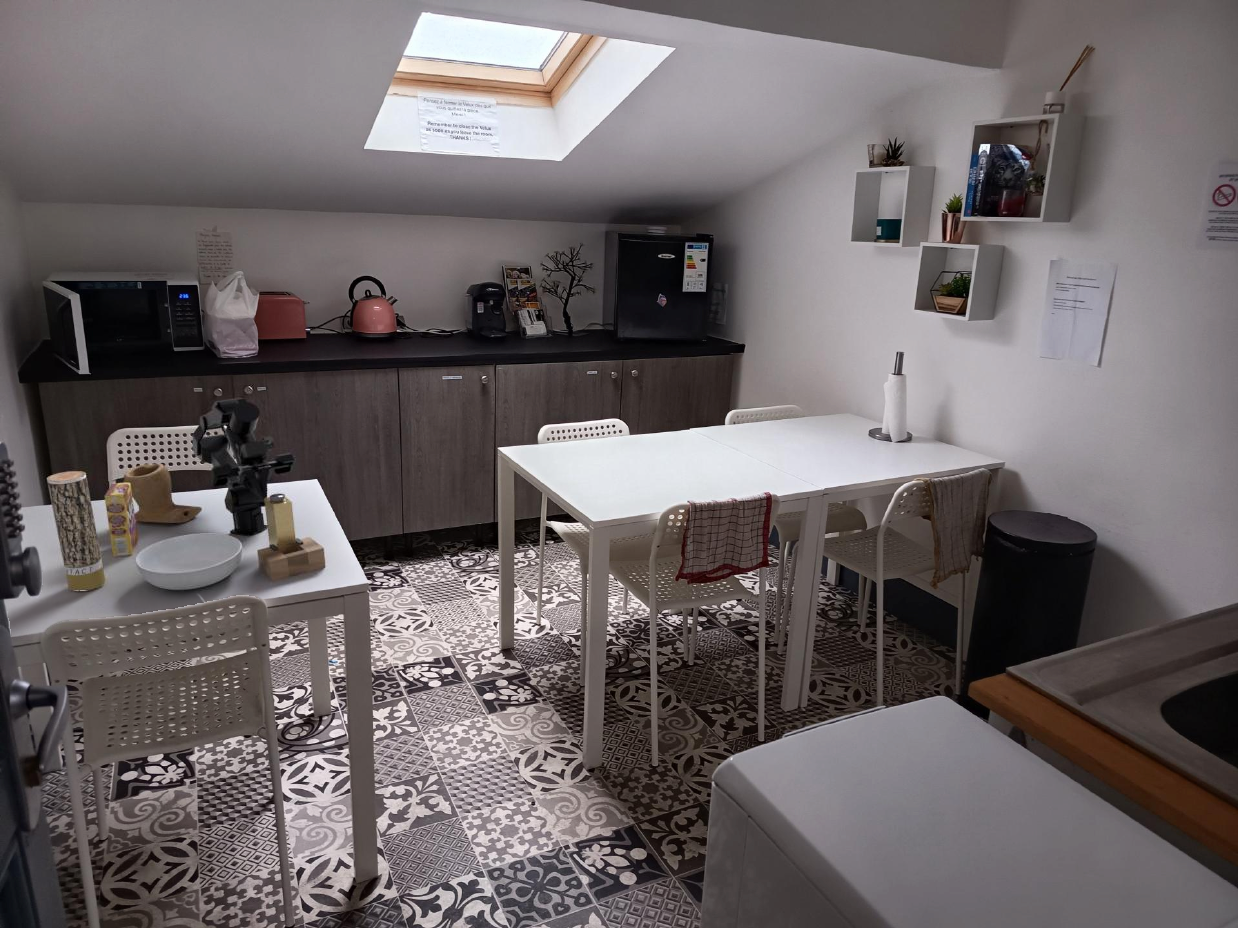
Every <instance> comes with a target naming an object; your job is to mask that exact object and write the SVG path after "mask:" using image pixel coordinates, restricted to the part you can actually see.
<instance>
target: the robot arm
mask: <svg viewBox="0 0 1238 928" xmlns="http://www.w3.org/2000/svg"><path fill="white" fill-rule="evenodd" d="M260 415H261V412H260V408H259V407H258V406H257V405H255V404H254V403H253V402H250V401H247V399H246V398H245V397H243V398H242V397H238V398H231V399H223V400H216V401H215V402H214V403H213V404H212V408H211V411H208V413H206V414H203V415H201V416H199V425H198V426H197V428H196V429H195V430H194V432H193V433H192V451H193V454H194V456H195V457H197V458H198V459H199V460H200V461H201V462H202V463H205V464H210V465H211V464H212V466H213V467H212V468H211V469H210V474H209V483H210V485H211V487H212V488H218V487H219V488H220V487H224V486H226V485H227V492H226V494H225V497H224V505H225V509H226V510H227V511H229V513H231V514H232V519H233V528H232V529H231V530H230V531H229V533H230V534H235V535H241V536H247V537H252V536H254V535H257V534H258V533H260V532H262V531H265V529H268V528H267V524H265V519H264V513H263V512H262V511H263V510H262V508H263V507H264V508H265V502H264V498H268V490H269V489H268V481H269V480H270V479H271V477H272V474H273V472H274V473H275V474H276V475H278V476H280V475H284V474H285V475H286V474H291V473H292V472H293V470H294V468H295V465H296V463H297V460H296V457H295V455H294V454H293V453H291V452H286V453H285V452H284V453H281V454H276V455H275V457H274V460H272V461H267V462H265V460H267V455H268V454H269V451H273V450H275V448H276V445H275V442H274V439H273V437H272V436H271V435H269V436H263V438H262V439H261V440H257V439H256V438H255V434H254V431H255V430H256V428H257V424H258V422H259V417H260ZM227 424H228V425H227ZM225 425H227V426H226V427H225ZM216 429H220V430H221V431H222V432H223V433H221V434H215V435H209V436H205V435H206V434H207V431H209V430H216ZM230 450H231V451H232V453H233V454H232V455H231V454H230Z"/></svg>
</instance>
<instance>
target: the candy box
mask: <svg viewBox="0 0 1238 928" xmlns="http://www.w3.org/2000/svg"><path fill="white" fill-rule="evenodd" d="M104 502H105V508H106V516H107V523H108V529H109V536H110V543H111V544H110V545H111V551H112V556H116V557H126V556H132V555H133V553H134V551H135V549H136V547H137V545H138V543H139V535H138V534H139V533H138V528H137V521H136V519H135V513H136V512H135V508H134V499H133V497H132V492H131V484H130V483H124V482H118V483H112V484H111V485H110V486H109V488H108V490H107V491H106V493H105V495H104Z"/></svg>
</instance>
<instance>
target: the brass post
mask: <svg viewBox="0 0 1238 928" xmlns="http://www.w3.org/2000/svg"><path fill="white" fill-rule="evenodd" d="M264 502H265V507H264V510H265V517H266V525H267V528H266V529H267V535H268V543H269V545H271V544H274V545H276V546H277V547H278V548H279V551H280V552H281V553H283V554H284V555H286V554H290V553H294V552H297V548H296V531H295V529H296V528H295V521H294V511H293V502H292V501H291V500H290V499H289V498H287V497H286V494H285V493H273V494H271V495H269V496H267V498H264ZM269 545H268V546H269Z"/></svg>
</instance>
